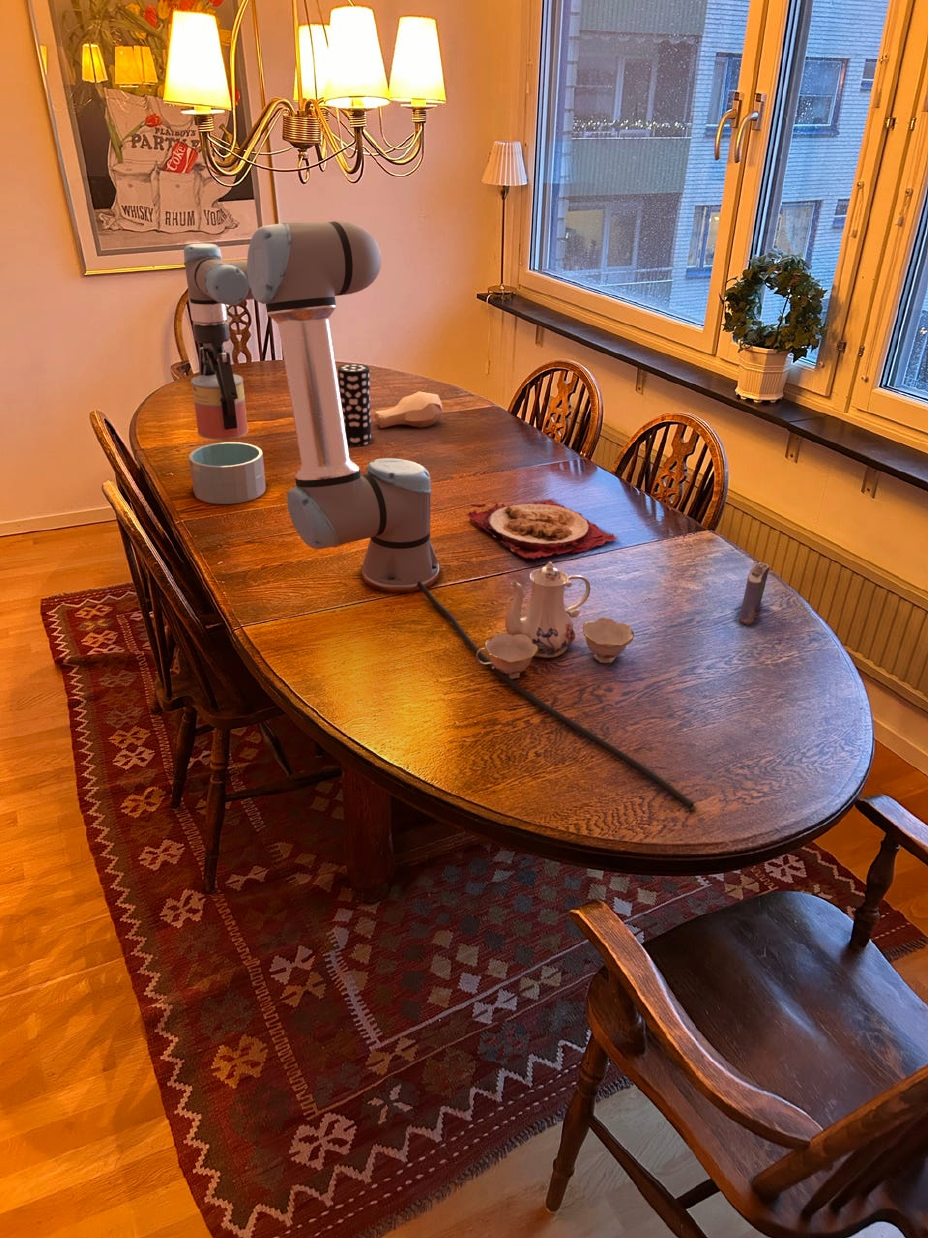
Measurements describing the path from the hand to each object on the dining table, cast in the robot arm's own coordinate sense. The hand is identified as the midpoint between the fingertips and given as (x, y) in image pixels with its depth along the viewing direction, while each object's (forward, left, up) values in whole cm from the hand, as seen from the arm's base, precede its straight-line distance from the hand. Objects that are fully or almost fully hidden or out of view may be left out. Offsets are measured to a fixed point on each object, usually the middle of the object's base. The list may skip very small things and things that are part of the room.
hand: (222, 421), depth 199 cm
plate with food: (-55, -51, -17) cm, 77 cm away
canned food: (0, 0, -3) cm, 3 cm away
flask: (-104, -63, -17) cm, 123 cm away
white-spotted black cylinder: (+17, -42, -17) cm, 48 cm away
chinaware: (-96, -22, -17) cm, 100 cm away
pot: (0, 0, -17) cm, 17 cm away
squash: (+22, -62, -17) cm, 68 cm away
